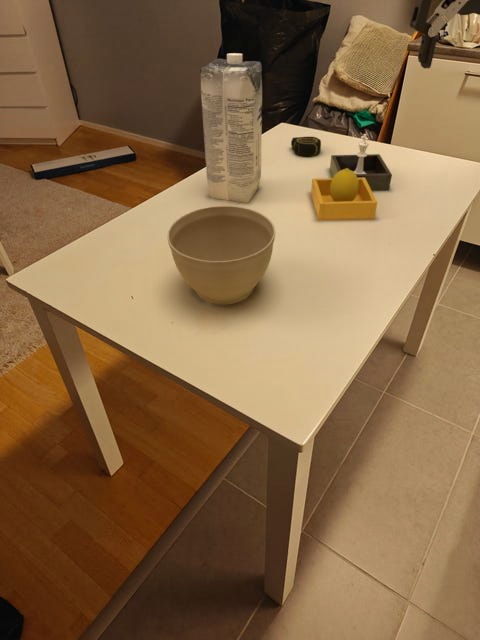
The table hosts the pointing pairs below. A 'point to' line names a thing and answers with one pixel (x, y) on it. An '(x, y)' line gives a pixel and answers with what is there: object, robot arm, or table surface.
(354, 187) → the lemon
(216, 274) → the planter bowl
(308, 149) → the tape measure
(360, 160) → the chess piece
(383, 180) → the dark bin
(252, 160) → the juice carton
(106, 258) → the table surface
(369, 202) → the yellow bin
